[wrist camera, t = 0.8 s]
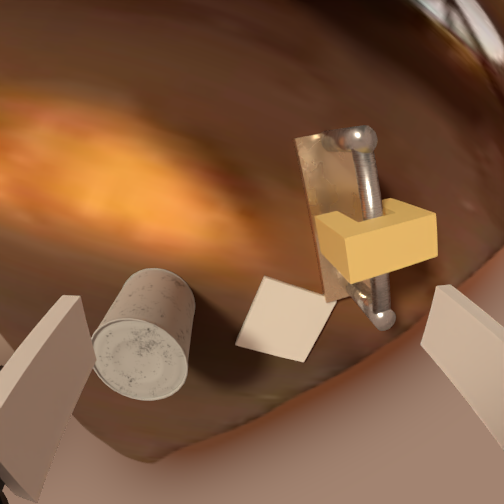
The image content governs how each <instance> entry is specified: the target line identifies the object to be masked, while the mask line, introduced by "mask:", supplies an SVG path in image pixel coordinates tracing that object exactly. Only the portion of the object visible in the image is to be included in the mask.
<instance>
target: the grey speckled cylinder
mask: <svg viewBox="0 0 504 504" xmlns="http://www.w3.org/2000/svg"><path fill="white" fill-rule="evenodd" d="M194 314H195V299H194V296H193V293H192V291H191V289H190V288H189V286H188V285H187V283H186V282H185V281H184V280H183V279H182V278H181V277H179V276H178V275H176V274H174V273H173V272H170V271H167V270H165V269H159V268H149V269H144V270H141V271H138V272H137V273H135V274H133V275H132V276H131V277H130V278H129V279H128V280H127V281H126V283H125V284H124V286H123V288H122V290H121V292H120V293H119V295H118V296H117V298H116V300H115V301H114V303H113V304H112V306H111V308H110V309H109V311H108V312H107V314H106V316H105V317H104V319H103V321H102V322H101V324H100V325H99V327H98V329H97V330H96V331H95V332H94V334H93V336H92V338H91V341H92V345H93V348H94V352H95V355H96V359H97V360H96V362H95V364H94V366H93V369H94V370H95V372H96V374H97V375H98V377H99V378H100V379H101V380H102V381H103V382H104V383H105V384H106V385H107V386H109V387H110V388H111V389H113V390H114V391H116V392H118V393H120V394H122V395H124V396H127V397H129V398H132V399H138V400H147V401H153V400H159V399H164V398H166V397H168V396H171V395H172V394H174V393H175V392H177V391H178V390H179V389H180V388H181V386H182V385H183V384H184V382H185V380H186V377H187V374H188V356H189V348H190V340H191V332H192V324H193V317H194Z"/></svg>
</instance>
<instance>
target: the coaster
mask: <svg viewBox="0 0 504 504" xmlns="http://www.w3.org/2000/svg"><path fill="white" fill-rule="evenodd" d="M336 302H337V300H335V301H331V302H328V303H326V302H325V297H324V295H322V294H319V293H316V292H313V291H310V290H307V289H304V288H301V287H297V286H294V285H291V284H288V283H285V282H282V281H279V280H276V279H273V278H270V277H267V276H264V277H263V280H262V282H261V284H260V287H259V289H258V291H257V294H256V296H255V298H254V301H253V303H252V305H251V308H250V310H249V312H248V314H247V317H246V319H245V321H244V324H243V326H242V328H241V330H240V333H239V335H238V337H237V340H236V342H235V345H237V346H240V347H244V348H248V349H251V350H255V351H259V352H263V353H267V354H271V355H275V356H279V357H283V358H287V359H292V360H296V361H300V362H304V361H305V359H306V358H307V356H308V354H309V352H310V350H311V349H312V347H313V345H314V343H315V341H316V340H317V338H318V336H319V334H320V332H321V330H322V328H323V327H324V325H325V323H326V321H327V319H328V317H329V315H330V313H331V311H332V309H333V307H334V305H335V303H336Z"/></svg>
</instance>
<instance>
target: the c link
mask: <svg viewBox="0 0 504 504" xmlns="http://www.w3.org/2000/svg"><path fill="white" fill-rule="evenodd" d="M382 207H383V215H384V216H381V217H377V218H373V219H369V220H365V221H361V222H357V221H355V220H353V219H351V218H349V217H347V216H346V215H344V214H342V213H340V212H338V211H334V212H330V213H326V214H322V215H317V216H314V218H315V223H316V228H317V234H318V239H319V245H320V251H321V253H322V254H323V255H324V257H325V258H326V259H327V260H328V261H329V262H330V263H331V264H332V265H333V266H334V267H335V268H336V269H337V270H338V271H339V272H340V273H341V274H342V275H343V277H344V278H345V279H346V280H347V281H348V282H349V283H350V284H353V283H356V282H360V281H363V280H366V279H369V278H373V277H376V276H379V275H382V274H385V273H388V272H392V271H395V270H398V269H401V268H404V267H407V266H410V265H413V264H416V263H419V262H422V261H425V260H428V259H431V258H434V257H436V256H438V249H437V225H436V213H433V212H430V211H427V210H425V209H422V208H419V207H416V206H413V205H410V204H407V203H404V202H401V201H398V200H395V199H392V198H388V199H384V200H382Z"/></svg>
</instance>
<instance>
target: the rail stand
mask: <svg viewBox="0 0 504 504" xmlns="http://www.w3.org/2000/svg"><path fill="white" fill-rule="evenodd" d="M293 143H294V147H295V152H296V156H297V161H298V165H299V170H300V174H301V179H302V184H303V189H304V193H305V198H306V203H307V208H308V213H309V218H310V223H311V229H312V234H313V239H314V245H315V250H316V256H317V262H318V267H319V273H320V279H321V285H322V291H323V295H324V297H325V302H326V303H328V302H331V301H335V300H338V299H341V298H345V297H348V296H350V297H351V298H352V299H353V300H354V301H355V302H356V304H357V305H358V306H359V307H360V308H361V310H362V311H363V312H364V313H365V314H366V315H367V317H368V318H369V319H370V320H371V321H372V323H373V324H374V325H375V326H376V327H377V329H378V330H381V331H385V330H388V329H389V328H391V327H392V326H393V324H394V323H395V320H396V315H395V313H394V312H393V311H392V310H391V300H390V281H389V272H388V273H385V274H382V275H379V276H376V277H373V278H369V279H366V280H363V281H360V282H356V283H353V284H350V283H349V282H348V281H347V280H346V279H345V278H344V277H343V275H342V274H341V273H340V272H339V271H338V270H337V269H336V268H335V267H334V266H333V265H332V264H331V263H330V262H329V261H328V260H327V259H326V258H325V257H324V255H323V254H322V253H321V251H320V245H319V239H318V234H317V228H316V223H315V218H314V216H317V215H322V214H326V213H330V212H334V211H338V212H340V213H342V214H344V215H346V216H347V217H349V218H351V219H353V220H355V221H357V222H361V221H365V220H369V219H373V218H377V217H381V216H384V215H383V207H382V200H381V192H380V186H379V179H378V173H377V167H376V161H375V155H374V149H375V147H376V145H377V135H376V133H375V131H374V130H373V129H372V128H370V127H369V126H356V127H349V128H342V129H335V130H329V131H324V132H322V133H321V134H316V135H311V136H306V137H300V138H295V139H293Z"/></svg>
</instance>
